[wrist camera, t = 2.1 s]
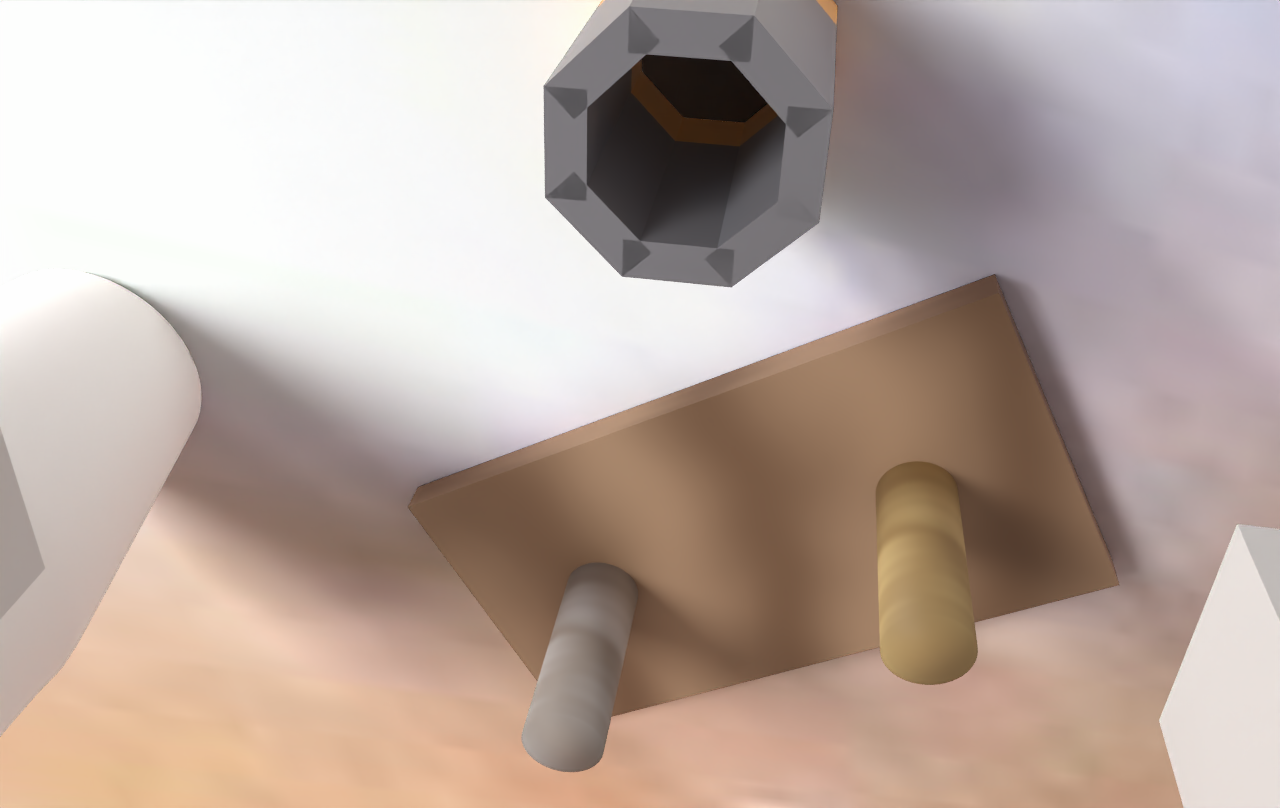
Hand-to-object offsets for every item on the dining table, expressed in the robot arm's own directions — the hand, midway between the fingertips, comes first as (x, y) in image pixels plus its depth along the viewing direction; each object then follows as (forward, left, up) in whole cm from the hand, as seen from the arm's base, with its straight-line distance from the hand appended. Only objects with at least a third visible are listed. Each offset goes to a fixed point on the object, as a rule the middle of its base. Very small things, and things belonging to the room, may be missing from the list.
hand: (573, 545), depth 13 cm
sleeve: (0, 0, -18) cm, 18 cm away
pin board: (+14, +2, -18) cm, 23 cm away
